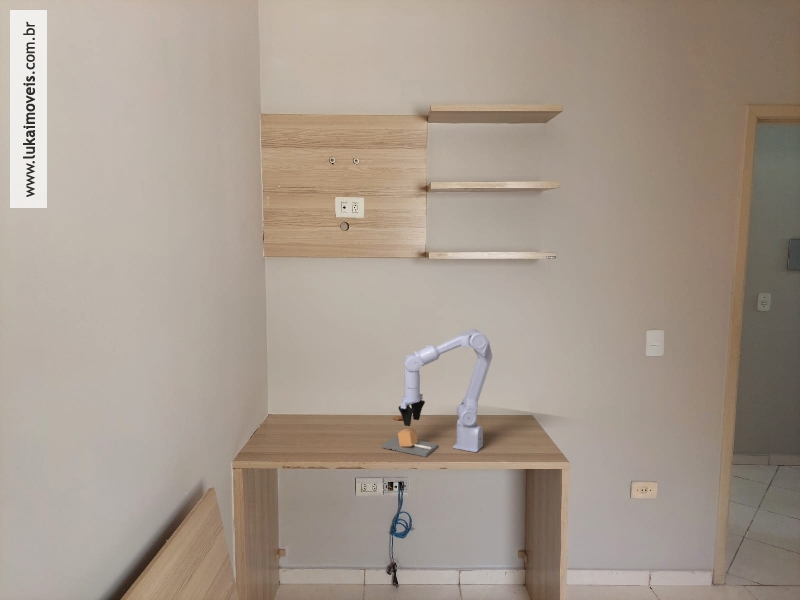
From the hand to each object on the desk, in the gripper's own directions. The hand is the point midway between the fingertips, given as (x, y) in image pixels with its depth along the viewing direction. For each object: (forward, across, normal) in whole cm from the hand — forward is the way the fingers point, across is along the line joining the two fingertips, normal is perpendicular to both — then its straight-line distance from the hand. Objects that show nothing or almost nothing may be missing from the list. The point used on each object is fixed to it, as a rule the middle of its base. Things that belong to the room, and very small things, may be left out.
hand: (411, 422), depth 192 cm
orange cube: (+8, +2, 0) cm, 8 cm away
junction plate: (+9, 0, 0) cm, 9 cm away
